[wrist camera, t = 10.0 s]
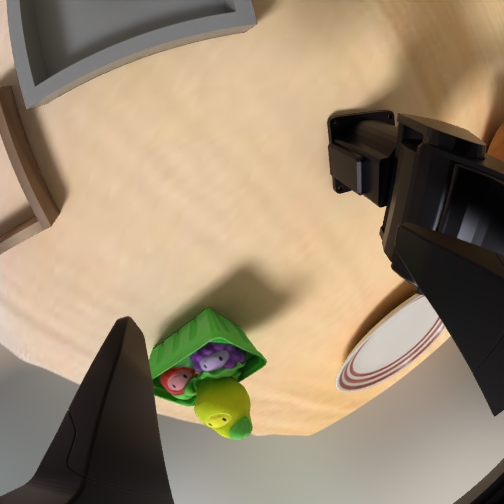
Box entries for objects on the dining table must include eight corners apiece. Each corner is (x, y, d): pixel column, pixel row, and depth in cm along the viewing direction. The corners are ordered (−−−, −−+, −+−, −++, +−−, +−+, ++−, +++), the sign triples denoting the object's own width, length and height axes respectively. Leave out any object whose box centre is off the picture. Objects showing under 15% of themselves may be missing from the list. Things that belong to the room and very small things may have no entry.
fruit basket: (208, 292, 25) (234, 404, 16) (263, 329, 30) (298, 418, 21) (135, 349, 27) (139, 445, 18) (193, 375, 32) (208, 456, 23)
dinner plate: (467, 286, 43) (477, 297, 40) (383, 376, 54) (389, 387, 51) (416, 244, 30) (433, 260, 27) (295, 381, 41) (302, 398, 38)
